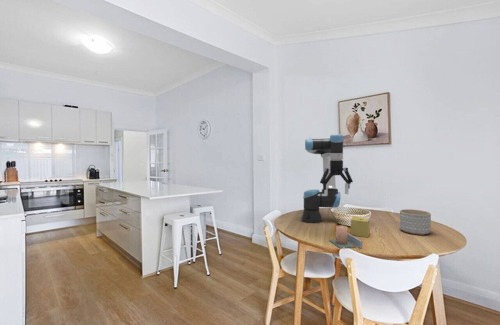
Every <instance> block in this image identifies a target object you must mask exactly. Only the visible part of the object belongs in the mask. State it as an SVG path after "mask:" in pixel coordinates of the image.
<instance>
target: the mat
mask: <svg viewBox="0 0 500 325" xmlns="http://www.w3.org/2000/svg"><path fill="white" fill-rule="evenodd" d="M329 242H330V243H331V244H333V245H335V247H337V248H338V249H340V248H341V249H344V248H343V247H347V248H346V249H351V248H356V247H357V246H355V245H354V244H352V243H351V242H349V241H348V244H346V245H340V244H337V243H336V238H335V239H329Z"/></svg>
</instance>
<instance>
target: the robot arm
mask: <svg viewBox="0 0 500 325" xmlns="http://www.w3.org/2000/svg"><path fill="white" fill-rule="evenodd" d="M304 140H305V141H304V148H305V150H306V152H307V153H310V154H313V155H320V157H321V159H322V169H323V170H322V171H323V173H322V177H321V179H320V181H319V183H320V184H322V189H321V191H320V189H308V190H305V191H304V192H303V211H302V214H301V217H300V218H301V221H302V222H305V223H308V224H309V223H310V224H318V223H322V220H323V217H322V215H321V212H320V208H335V209H336V208H338V207H339V206H340V204H341V203H340V202H341V192H340V191H339V189H338V188H337V187H336V176H340V177H341V178H342V179H343V181H344V182H345V183H344V194H345V195H349V189H350V186H351V184H352V183H353V182H354V181H353V179H352V176H351V175H350V172H349V169H348V167H344V161H343V160H344V136H343V134H331V135H330V136H329V138H309V139H307V138H306V139H304ZM343 172H344V173H343Z"/></svg>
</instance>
